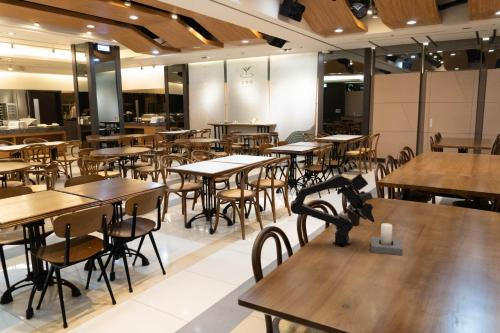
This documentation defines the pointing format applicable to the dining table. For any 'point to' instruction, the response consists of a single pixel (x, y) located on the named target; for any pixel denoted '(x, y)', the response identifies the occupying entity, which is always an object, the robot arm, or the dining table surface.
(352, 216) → the coffee mug
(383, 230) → the peg
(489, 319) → the dining table surface
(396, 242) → the collar block
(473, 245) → the dining table surface
